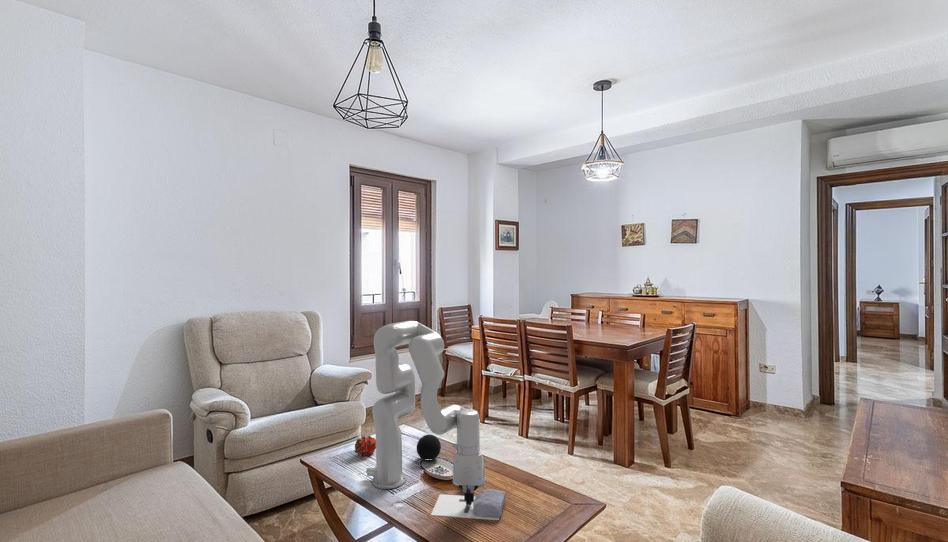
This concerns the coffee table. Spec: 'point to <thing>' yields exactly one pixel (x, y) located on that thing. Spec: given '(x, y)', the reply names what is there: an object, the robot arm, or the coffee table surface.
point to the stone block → (489, 503)
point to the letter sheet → (456, 508)
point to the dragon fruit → (365, 446)
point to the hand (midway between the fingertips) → (469, 502)
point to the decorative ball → (428, 447)
